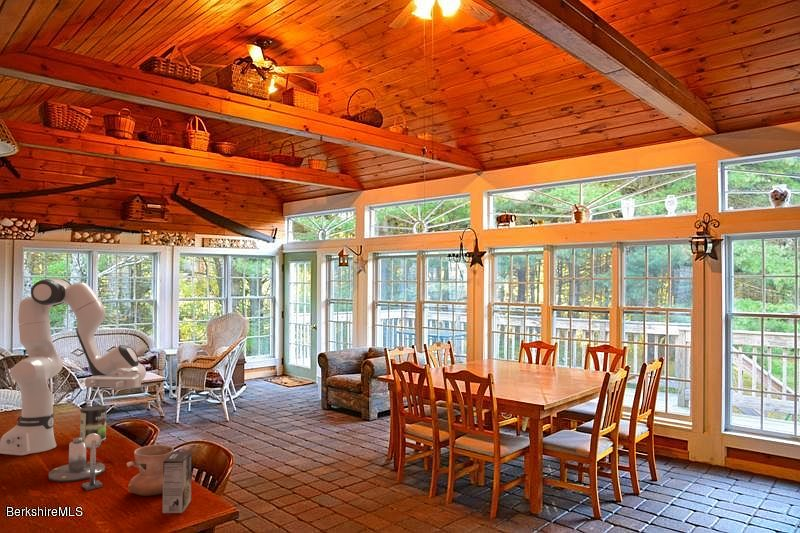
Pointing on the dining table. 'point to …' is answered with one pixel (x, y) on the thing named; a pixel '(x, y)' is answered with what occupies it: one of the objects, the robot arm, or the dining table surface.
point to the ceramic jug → (149, 469)
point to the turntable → (74, 473)
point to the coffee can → (93, 421)
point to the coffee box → (176, 482)
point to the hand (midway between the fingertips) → (102, 385)
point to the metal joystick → (92, 460)
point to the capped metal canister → (77, 455)
